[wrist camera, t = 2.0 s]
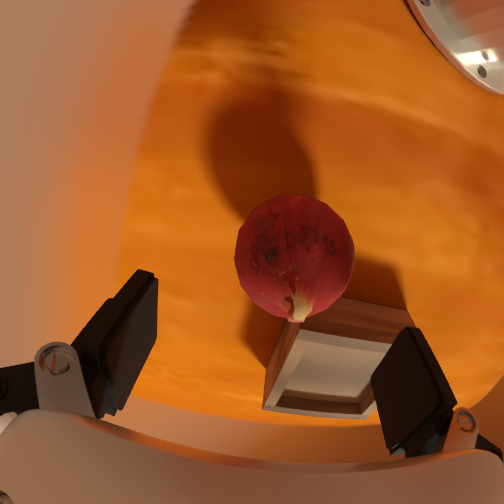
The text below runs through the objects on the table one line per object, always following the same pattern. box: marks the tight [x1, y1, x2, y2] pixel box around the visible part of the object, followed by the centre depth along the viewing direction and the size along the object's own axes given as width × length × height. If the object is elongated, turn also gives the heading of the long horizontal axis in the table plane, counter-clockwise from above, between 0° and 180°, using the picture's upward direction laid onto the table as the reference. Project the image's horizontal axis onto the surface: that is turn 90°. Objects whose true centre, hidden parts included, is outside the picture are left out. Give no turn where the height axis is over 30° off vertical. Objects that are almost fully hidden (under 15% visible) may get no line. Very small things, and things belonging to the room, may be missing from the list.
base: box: [262, 297, 416, 420], centre depth 19 cm, size 9×9×4 cm
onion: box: [234, 195, 354, 323], centre depth 13 cm, size 6×6×8 cm
